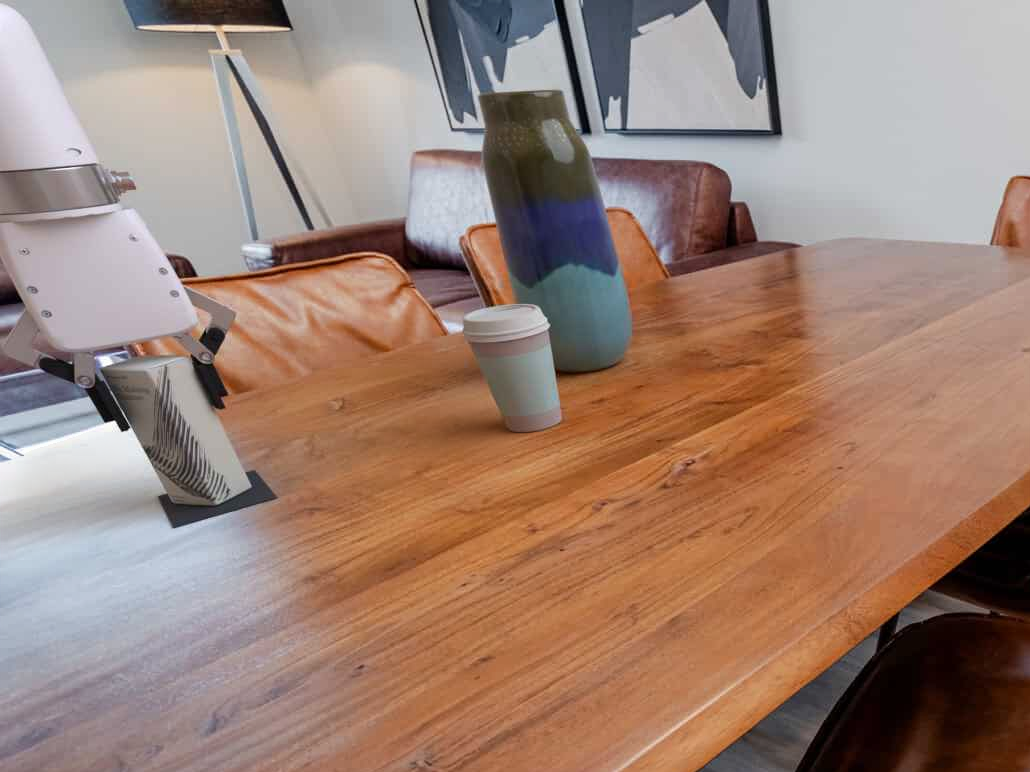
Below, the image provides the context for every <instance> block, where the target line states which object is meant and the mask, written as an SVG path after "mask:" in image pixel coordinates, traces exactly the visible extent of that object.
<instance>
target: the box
mask: <svg viewBox="0 0 1030 772" xmlns="http://www.w3.org/2000/svg"><path fill="white" fill-rule="evenodd" d="M192 363H193V362H192V359H191V357H190V356H187V355H171V354H168V355H167V354H159V355H157V354H141V355H138V356H135V357H131V358H127V359H125V360H122V361H119V362H115V363H112V364H108V365H105V366H102V367H100V368H99V372H100V373H101V375H102V377H103V378H104V381H105V383H106V385H108V386H107V387H108V389H109V390H110V392H111V394H112V396H113V397H114V399H115V401H116V403H117V404H118V406H119V408H120V410H121V411H122V413H123V415H124V417H125V418H126V420H127V422H128V424H129V426H130V427H131V428H130V429H132V432H133V434H134V435H135V437H136V439H137V441H138V443H139V444H140V446H141V448H142V449H143V451H144V454H146V457H147V459H148V461H149V462H150V464H151V466H152V468H153V470H154V473H155V474H156V476H157V477H158V479H159V481H160V483H161V484H162V487H163V488H164V490H165V492H166V494H168V496H169V497H170V499H171V501H172V502H173V503H176V504H188V505H206V506H215V505H218V504H220V503H222V502H224V501H226V500H228V499H231V498H233V497H235V496H237V495H239V494H241V493H243V492H245V491H247V490H248V489H250V488H251V487H252V486H251V484H250V482H249V480H248V477H247V475H246V473H245V472H246V471H245V469H244V468H243V466H242V463H241V461H240V458H239V457H238V455H237V453H236V451H235V449H234V447H233V444H232V442H231V441H230V439H229V437H228V433H227V431H226V430H225V428H224V426H223V423H222V422H221V419H220V418H219V416H218V414H217V412H216V409H215V407H214V406H213V405H212V403H211V401H210V399H209V397H208V395H207V393H206V391H205V389H204V387H203V385H202V383H201V381H200V379H199V376H198V374H197V372H196V370H195V368H194V366H193V364H192Z"/></svg>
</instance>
